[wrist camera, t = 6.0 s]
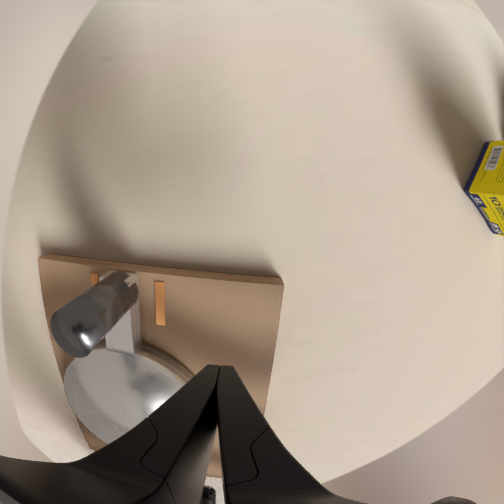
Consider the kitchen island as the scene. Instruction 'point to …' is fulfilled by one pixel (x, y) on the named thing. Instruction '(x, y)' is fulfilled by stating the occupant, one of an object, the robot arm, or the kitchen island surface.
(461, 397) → the kitchen island surface
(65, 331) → the silver disc with handle
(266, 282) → the walnut board
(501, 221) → the supplement box
